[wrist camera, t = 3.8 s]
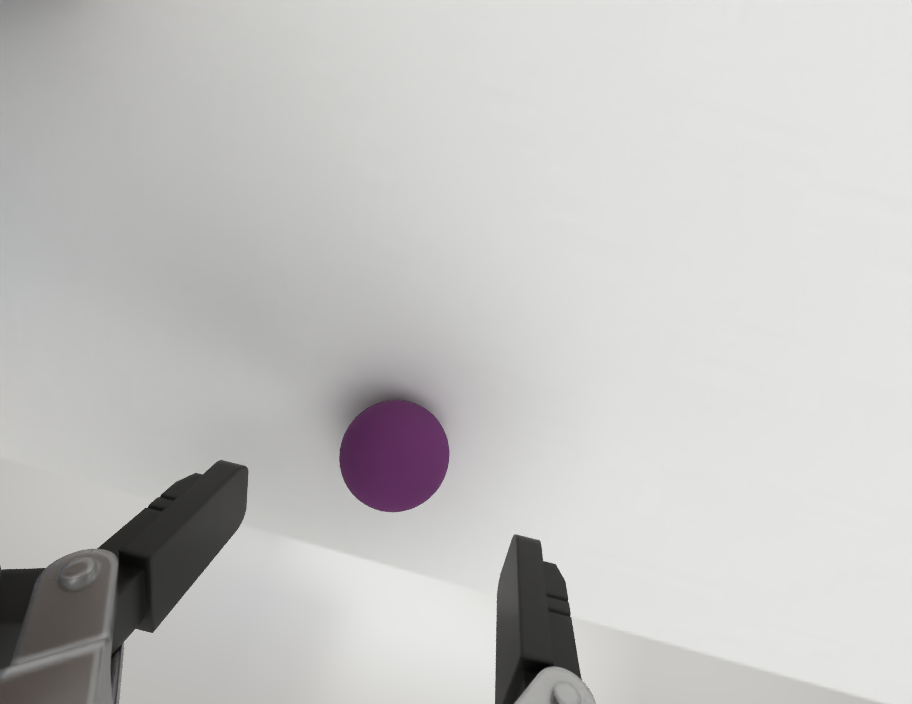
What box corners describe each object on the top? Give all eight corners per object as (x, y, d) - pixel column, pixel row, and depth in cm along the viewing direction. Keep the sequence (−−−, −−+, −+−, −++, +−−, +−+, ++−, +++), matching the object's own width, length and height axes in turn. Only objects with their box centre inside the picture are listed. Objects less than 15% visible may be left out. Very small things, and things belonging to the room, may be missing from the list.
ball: (340, 427, 18) (298, 486, 14) (400, 363, 17) (371, 409, 13) (412, 486, 19) (389, 556, 15) (474, 428, 18) (467, 489, 14)
